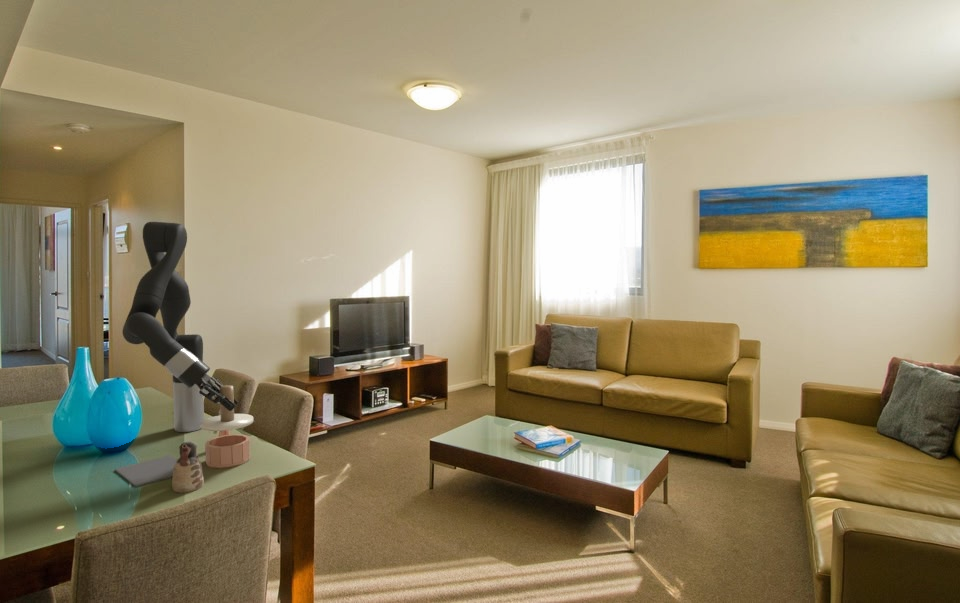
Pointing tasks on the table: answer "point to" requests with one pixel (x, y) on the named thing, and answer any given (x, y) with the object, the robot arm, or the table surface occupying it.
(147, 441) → the table surface
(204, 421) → the cover
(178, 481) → the figurine
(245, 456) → the bowl
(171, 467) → the mat
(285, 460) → the table surface
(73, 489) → the table surface
